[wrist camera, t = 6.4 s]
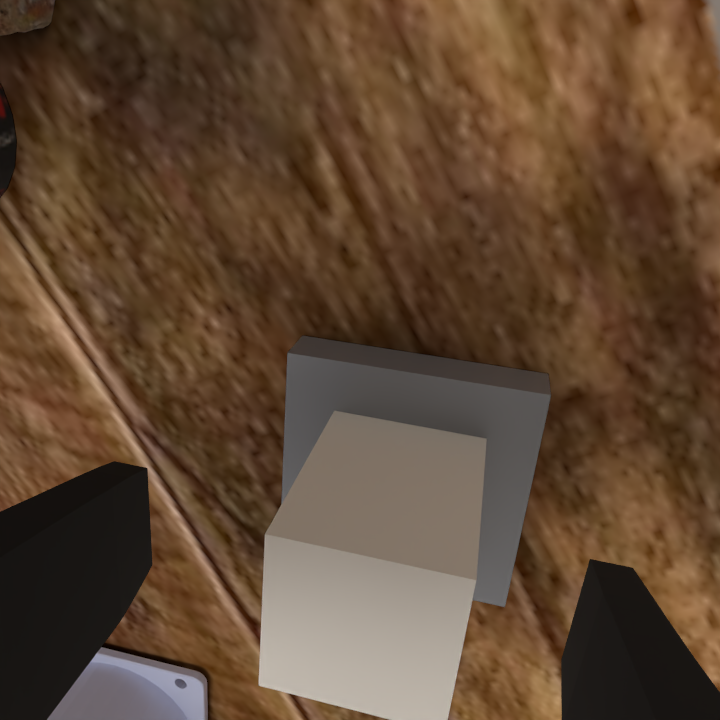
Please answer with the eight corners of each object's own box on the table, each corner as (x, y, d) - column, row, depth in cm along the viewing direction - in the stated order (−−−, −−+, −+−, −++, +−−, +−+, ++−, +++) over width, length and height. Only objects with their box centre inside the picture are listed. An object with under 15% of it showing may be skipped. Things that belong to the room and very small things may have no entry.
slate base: (292, 531, 23) (279, 558, 22) (302, 335, 20) (287, 353, 19) (505, 575, 22) (505, 606, 21) (548, 373, 19) (551, 394, 18)
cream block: (323, 533, 21) (258, 685, 16) (334, 410, 19) (264, 534, 14) (462, 563, 20) (444, 733, 15) (486, 438, 19) (476, 580, 13)
